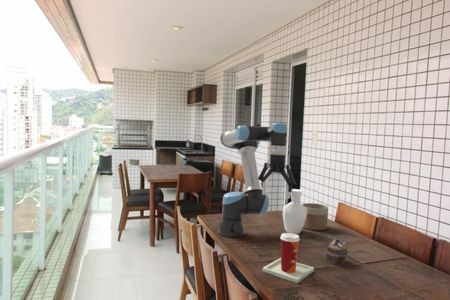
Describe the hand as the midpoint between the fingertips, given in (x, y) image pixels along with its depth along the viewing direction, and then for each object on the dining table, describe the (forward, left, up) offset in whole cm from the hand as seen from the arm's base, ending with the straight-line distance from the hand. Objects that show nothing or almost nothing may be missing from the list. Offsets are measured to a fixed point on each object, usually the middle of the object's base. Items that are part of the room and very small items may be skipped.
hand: (275, 196), depth 170 cm
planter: (-1, +53, -27) cm, 59 cm away
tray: (+19, -20, -27) cm, 38 cm away
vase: (-6, +35, -27) cm, 45 cm away
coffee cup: (+19, -20, -26) cm, 38 cm away
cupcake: (+30, +6, -27) cm, 41 cm away
